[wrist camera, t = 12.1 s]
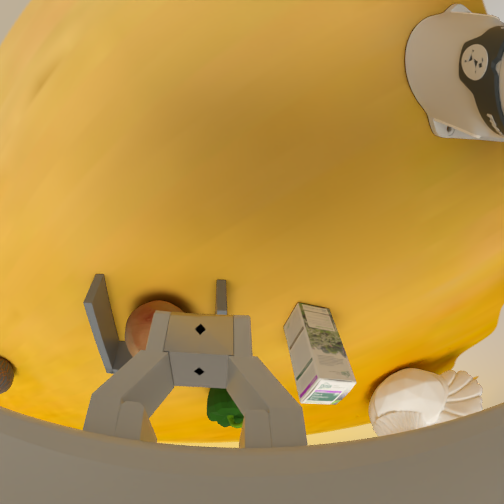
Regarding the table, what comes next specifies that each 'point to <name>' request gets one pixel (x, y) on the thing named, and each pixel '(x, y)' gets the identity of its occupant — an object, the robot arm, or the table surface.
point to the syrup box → (317, 356)
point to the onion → (144, 324)
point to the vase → (5, 375)
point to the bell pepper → (223, 409)
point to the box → (104, 326)
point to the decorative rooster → (422, 400)
